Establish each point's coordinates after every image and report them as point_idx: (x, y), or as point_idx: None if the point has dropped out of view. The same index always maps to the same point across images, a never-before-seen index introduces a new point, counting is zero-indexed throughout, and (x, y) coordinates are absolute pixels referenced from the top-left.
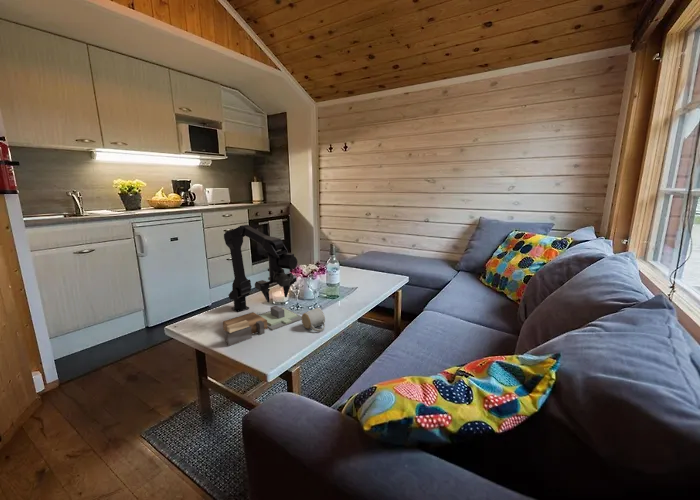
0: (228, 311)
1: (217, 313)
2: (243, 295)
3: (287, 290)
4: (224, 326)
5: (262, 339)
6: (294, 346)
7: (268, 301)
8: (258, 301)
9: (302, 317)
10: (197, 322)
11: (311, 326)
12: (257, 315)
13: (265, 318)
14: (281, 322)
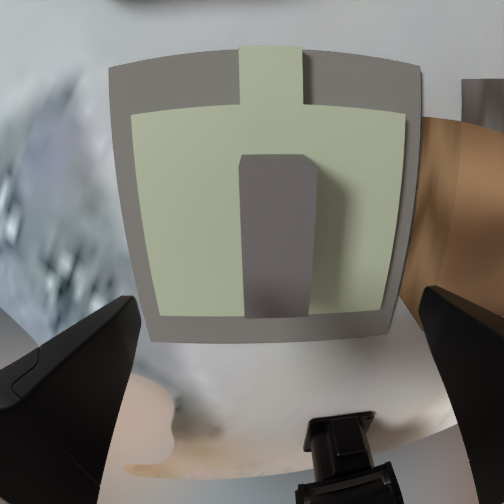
0: (383, 427)
1: (416, 425)
2: (333, 486)
3: (58, 354)
4: None
5: (491, 37)
6: None
7: (445, 290)
8: (226, 448)
9: None
10: None
11: None
12: (450, 257)
13: (373, 239)
14: (309, 101)
